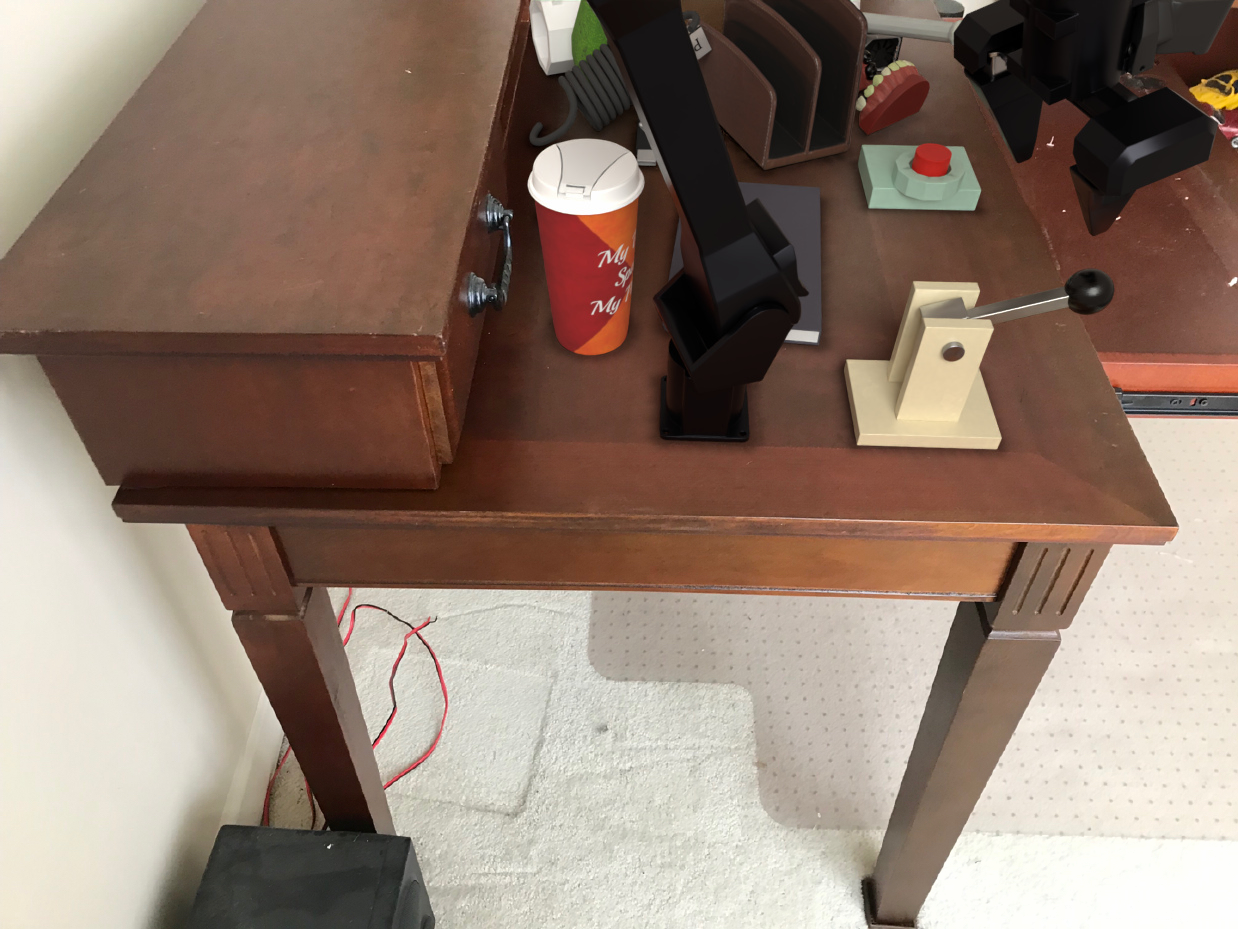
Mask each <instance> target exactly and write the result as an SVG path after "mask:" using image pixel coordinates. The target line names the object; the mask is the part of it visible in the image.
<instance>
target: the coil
mask: <svg viewBox="0 0 1238 929" xmlns="http://www.w3.org/2000/svg"><path fill="white" fill-rule="evenodd" d="M682 13H683V17H684V20H685V21H688V20H689V19H692V21H691V23H690V25H689V26H688V27H687V29H688V31H689V32H690V33H693V32H694V31H695V30H696V28H697V27H698V25H699V22H700V20H701V16H700V13H699V12H697V11H695V10H685V11H682ZM600 51H601V52H600ZM593 56H594V57H593ZM593 56H592V55H590V54H589V55H587V56H586V61H587V62H586V61H585V60H581V61H580V62H579V66H580V68H581V69H580V68H579V67H578V66H577V65H575V66H573V67H572V71H567V72H564V75H560V76H559V77H558V84H559V85H560V87H562V89H563V90H564V92H565V94H566V97H567V99H568V103H569V104H568V105H569V112H568V115H567V118H566V120H565V122H563V124H562V125H561V126H560V127H558V128H557V129H556V130H554V131H552V132H550V133H549V134H547V135H545V136H542V137H538V136H539V133H540V132H541V131H542V129H543V128H544V125H543V124H542V122H541V121H537V122H536V123H535V125H534V126H533V127H532V129H531V131H530V133H529V136H528V137H529V142H530V143H531V145H532V146H535V147H543V146H546V145H549V144H551V143H553V142H555V141H557V140H558V139H560V138H561V137H563V136H564V135H565V134H566V133H568V131H570V130H571V128H572V127H573V125H574V123H575V121H576V118H577V116H578V110H579V112H580V114H582V116H583V117H584V118H585V119H586V121H587V122H588V123H589V125H590V126H591V127H592V128H593V129H594V130H595V131H598V132H600V131H602V130H603V129H604V127H606V126H607V127H608V126H609V124H610V121H615V120H616V119H617V116H622V115H623V113H624V111H628V110H630V108H631V106H634V104H633V102H632V100H631V97H630V95H629V92H628V90H627V87H626V85H625V82H624V80H623V78H622V75H621V73H620V70H619V68H618V65H617V63H616V60H615V58H614V56H613V53H612V51H611V48H610V46H609V43H608V41H607V45H606V44H601V45H600V50H598V49H595V50H594V51H593ZM587 63H588V64H587ZM589 66H590V67H589ZM591 69H592V70H591ZM581 70H582V71H583V72H582V71H581ZM593 72H594V73H593ZM583 73H584V74H585V75H584V74H583ZM595 75H596V76H595ZM585 76H586V77H587V78H586V77H585ZM606 76H607V77H606ZM617 77H618V78H619V79H618V78H617ZM597 78H598V79H597ZM587 79H588V80H589V81H590V83H591V84H592V86H593V87H592V86H591V85H590V83H589V81H588V80H587ZM608 79H609V80H610V82H611V83H612V85H613V86H614V87H613V86H612V85H611V83H610V82H609V80H608ZM598 80H599V81H600V82H601V84H602V85H603V87H604V88H603V87H602V85H601V84H600V82H599V81H598ZM619 80H620V81H621V83H622V84H621V83H620V81H619ZM593 88H594V89H595V90H594V89H593ZM614 88H615V89H614ZM605 90H606V91H605ZM596 92H597V93H596Z"/></svg>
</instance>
